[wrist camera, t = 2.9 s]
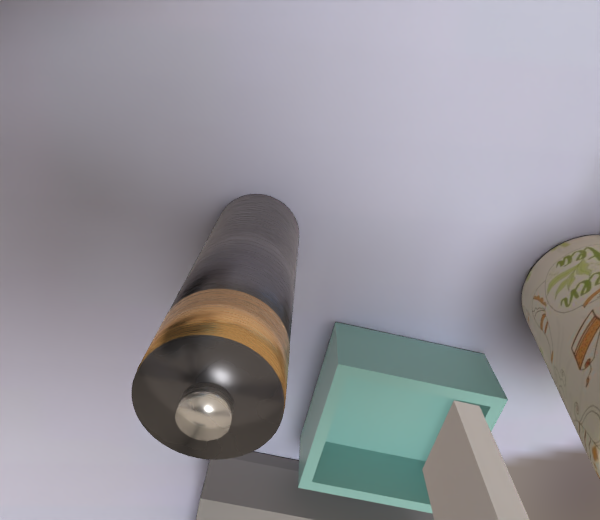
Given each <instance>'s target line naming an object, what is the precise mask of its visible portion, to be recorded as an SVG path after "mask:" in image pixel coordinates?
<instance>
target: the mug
mask: <svg viewBox="0 0 600 520" xmlns="http://www.w3.org/2000/svg"><path fill="white" fill-rule="evenodd" d="M522 309H523V312H524V315H525V318H526V321H527V323H528V325H529V327H530V330H531V332H532V334H533V336H534V338H535V341H536V343H537V345H538V347H539V349H540V352H541V354H542V356H543V358H544V360H545V363H546V365H547V367H548V369H549V371H550V374H551V376H552V378H553V380H554V382H555V385H556V387H557V389H558V391H559V393H560V395H561V398H562V400H563V402H564V404H565V406H566V409H567V411H568V413H569V415H570V417H571V420H572V422H573V424H574V426H575V428H576V431H577V433H578V435H579V437H580V439H581V442H582V444H583V446H584V448H585V450H586V453H587V455H588V457H589V459H590V461H591V464H592V465H593V467H594V469H595V471H596V473H597V475H598V477H599V478H600V235H590V236H583V237H579V238H575V239H572V240H569V241H567V242H564V243H562V244H560V245H558V246H557V247H555V248H553V249H552V250H550V251H549V252H548V253H546V254H545V255H544V256H543V257H542V258H541V259H540V260H539V261H538V262H537V263H536V264H535V266H534V267H533V268H532V270H531V271H530V273H529V274H528V276H527V278H526V281H525V283H524V286H523V290H522Z"/></svg>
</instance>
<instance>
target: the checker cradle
mask: <svg viewBox="0 0 600 520" xmlns="http://www.w3.org/2000/svg"><path fill="white" fill-rule="evenodd" d="M298 478H299V461H298V460H293V459H288V458H283V457H277V456H272V455H267V454H262V453H257V452H251V453H248V454H245V455H243V456H239V457H235V458H230V459H219V460H213V459H210V462H209V466H208V470H207V474H206V477H205V481H204V485H203V489H202V493H201V497H200V502H199V507H198V512H197V516H196V520H434V516H433V513H427V512H422V511H417V510H412V509H407V508H401V507H396V506H391V505H386V504H380V503H375V502H370V501H365V500H360V499H354V498H349V497H344V496H339V495H333V494H328V493H323V492H318V491H313V490H307V489H302V488H298Z"/></svg>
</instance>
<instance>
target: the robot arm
mask: <svg viewBox="0 0 600 520" xmlns="http://www.w3.org/2000/svg"><path fill="white" fill-rule="evenodd" d="M422 471H423V475H424V479H425V483H426V487H427V491H428V496H429V500H430V504H431V508H432V512H433V516H434V520H529V518H528V515H527V513H526V511H525V508H524V506H523V504H522V502H521V500H520V497H519V495H518V492H517V490H516V488H515V486H514V484H513V481H512V479H511V477H510V474H509V472H508V470H507V467H506V465H505V463H504V461H503V458H502V456H501V454H500V451H499V449H498V447H497V445H496V442H495V440H494V438H493V435H492V433H491V431H490V429H489V426H488V424H487V422H486V420H485V417H484V415H483V413H482V410H481V408H480V406H478V405H473V404H469V403H464V402H459V401H453V403H452V406H451V408H450V410H449V412H448V414H447V416H446V419H445V421H444V423H443V425H442V427H441V430H440V432H439V434H438V436H437V438H436V441H435V443H434V445H433V447H432V449H431V452H430V454H429V456H428V458H427V460H426V462H425V465H424V467H423V469H422Z"/></svg>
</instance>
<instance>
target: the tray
mask: <svg viewBox="0 0 600 520" xmlns="http://www.w3.org/2000/svg"><path fill="white" fill-rule="evenodd" d="M507 400H508V399H507V397H506V395H505V393H504V391H503V389H502V387H501V385H500V384H499V382H498V380H497V378H496V376H495V374H494V372H493V370H492V368H491V366H490V364H489V362H488V360H487V359H486V357H485V355H484V354H482V353H477V352H472V351H468V350H463V349H458V348H454V347H449V346H445V345H440V344H435V343H431V342H426V341H421V340H417V339H412V338H407V337H403V336H398V335H393V334H389V333H384V332H380V331H375V330H370V329H366V328H361V327H356V326H352V325H347V324H342V323H338V322H335V325H334V328H333V332H332V335H331V338H330V341H329V345H328V348H327V351H326V354H325V358H324V361H323V364H322V367H321V371H320V374H319V377H318V381H317V384H316V387H315V390H314V394H313V397H312V400H311V403H310V407H309V410H308V413H307V416H306V420H305V423H304V426H303V429H302V433H301V436H300V454H299V478H298V488H302V489H307V490H313V491H318V492H323V493H328V494H333V495H339V496H344V497H349V498H354V499H360V500H365V501H370V502H375V503H380V504H386V505H391V506H396V507H401V508H407V509H412V510H417V511H422V512H427V513H433V512H432V508H431V504H430V500H429V496H428V491H427V487H426V483H425V479H424V475H423V471H422V469H423V467H424V465H425V462H426V460H427V458H428V456H429V454H430V452H431V449H432V447H433V445H434V443H435V441H436V438H437V436H438V434H439V432H440V430H441V427H442V425H443V423H444V421H445V419H446V416H447V414H448V412H449V410H450V408H451V406H452V403H453V401H459V402H464V403H469V404H473V405H478V406H480V408H481V410H482V413H483V415H484V417H485V420H486V422H487V424H488V426H489V429H490V431H492V429H493V427H494V425H495V423H496V421H497V419H498V418H499V416H500V414H501V412H502V410H503V408H504V406H505V404H506V402H507Z"/></svg>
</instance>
